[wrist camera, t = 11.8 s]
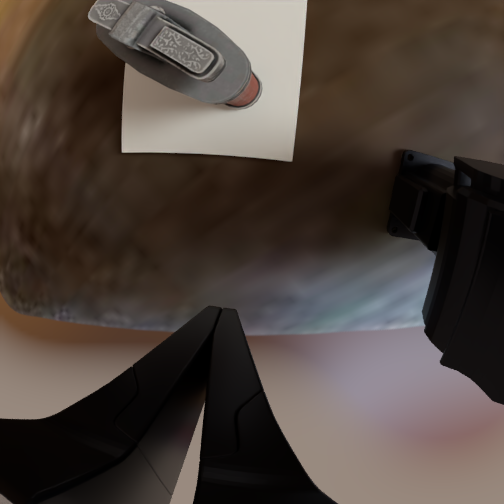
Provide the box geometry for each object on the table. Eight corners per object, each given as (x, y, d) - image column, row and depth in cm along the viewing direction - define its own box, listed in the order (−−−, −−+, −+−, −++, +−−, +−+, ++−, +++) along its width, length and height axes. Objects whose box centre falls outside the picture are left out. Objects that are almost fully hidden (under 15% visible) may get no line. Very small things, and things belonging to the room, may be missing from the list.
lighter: (148, 59, 15) (48, 32, 6) (178, 21, 14) (96, -36, 5) (240, 121, 17) (195, 125, 8) (274, 81, 15) (266, 40, 7)
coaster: (306, 0, 13) (307, -6, 12) (291, 159, 19) (292, 161, 18) (140, 5, 14) (134, 1, 13) (128, 150, 19) (121, 152, 18)
